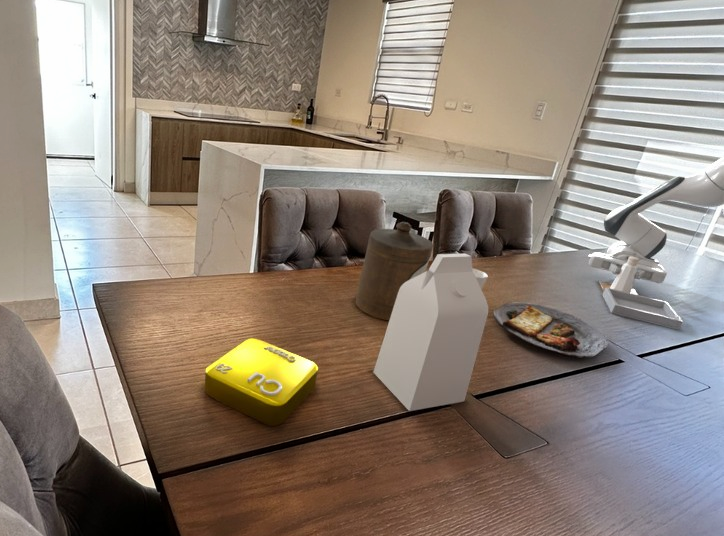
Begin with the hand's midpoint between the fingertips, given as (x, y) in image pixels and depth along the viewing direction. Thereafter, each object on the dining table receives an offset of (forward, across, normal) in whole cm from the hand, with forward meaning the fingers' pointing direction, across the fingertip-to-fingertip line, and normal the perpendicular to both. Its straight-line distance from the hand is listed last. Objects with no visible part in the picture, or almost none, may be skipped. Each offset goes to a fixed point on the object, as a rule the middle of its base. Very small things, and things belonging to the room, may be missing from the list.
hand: (627, 274), depth 144 cm
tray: (+14, +4, +6) cm, 16 cm away
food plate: (+51, -19, +6) cm, 55 cm away
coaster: (-1, 0, +6) cm, 6 cm away
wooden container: (+66, -54, +6) cm, 86 cm away
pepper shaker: (-1, 0, +6) cm, 6 cm away
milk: (+95, -38, +6) cm, 102 cm away
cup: (+44, -38, +6) cm, 58 cm away
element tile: (+114, -60, +6) cm, 129 cm away
